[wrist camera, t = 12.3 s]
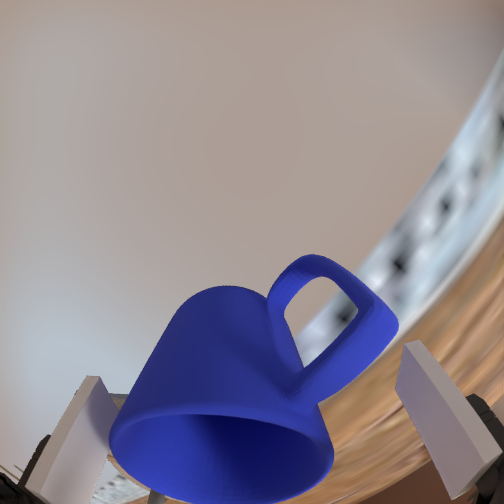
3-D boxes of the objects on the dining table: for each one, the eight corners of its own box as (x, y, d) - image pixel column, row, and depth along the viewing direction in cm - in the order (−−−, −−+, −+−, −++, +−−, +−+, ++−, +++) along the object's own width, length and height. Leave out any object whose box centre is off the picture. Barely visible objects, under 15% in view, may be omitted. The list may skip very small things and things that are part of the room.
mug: (367, 271, 16) (463, 383, 7) (242, 393, 19) (242, 518, 10) (260, 180, 15) (284, 227, 5) (142, 334, 18) (84, 459, 8)
